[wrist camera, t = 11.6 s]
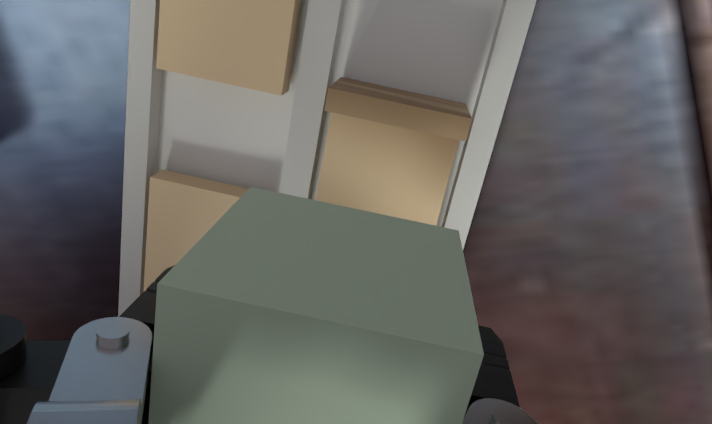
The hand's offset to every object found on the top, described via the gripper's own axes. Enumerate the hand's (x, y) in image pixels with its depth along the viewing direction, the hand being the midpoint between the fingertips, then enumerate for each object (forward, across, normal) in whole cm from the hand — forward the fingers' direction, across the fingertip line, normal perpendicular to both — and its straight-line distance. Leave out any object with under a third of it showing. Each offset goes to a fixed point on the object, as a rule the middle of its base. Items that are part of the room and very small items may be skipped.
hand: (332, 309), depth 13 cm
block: (0, 0, 0) cm, 0 cm away
